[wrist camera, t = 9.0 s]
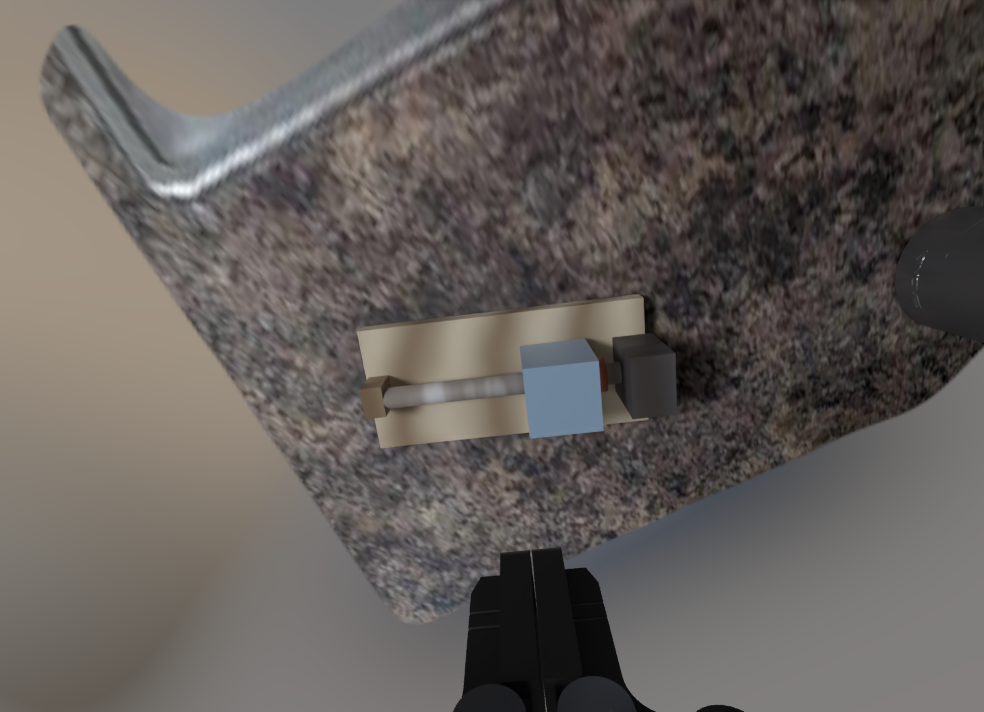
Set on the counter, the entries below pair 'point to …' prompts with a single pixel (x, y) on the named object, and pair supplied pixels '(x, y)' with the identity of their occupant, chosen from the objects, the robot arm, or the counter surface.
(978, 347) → the counter surface
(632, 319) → the rail board
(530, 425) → the blue sleeve
